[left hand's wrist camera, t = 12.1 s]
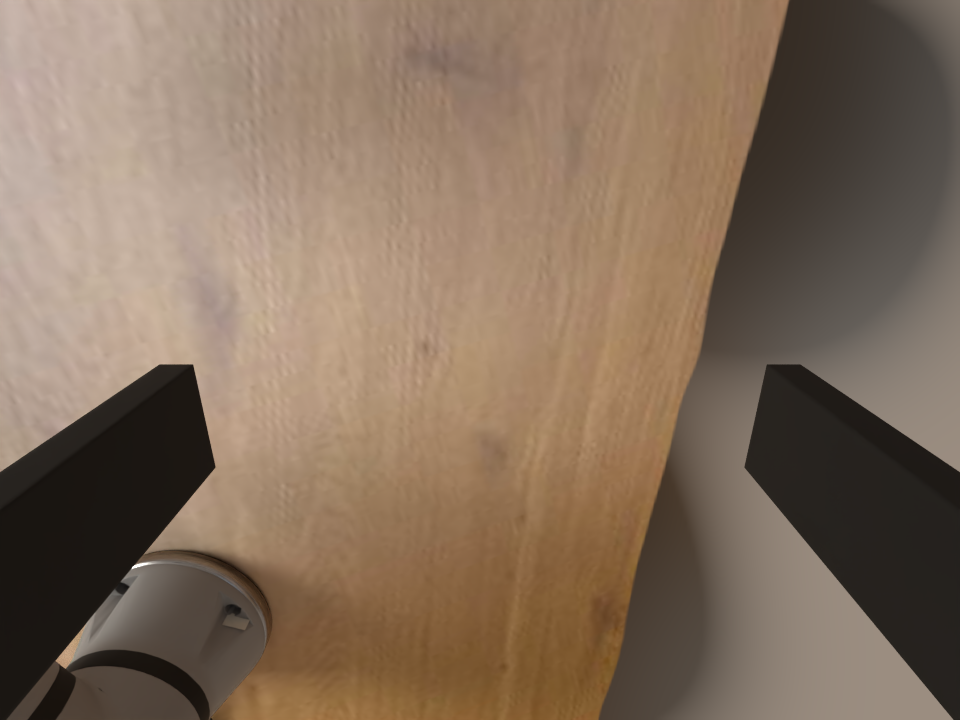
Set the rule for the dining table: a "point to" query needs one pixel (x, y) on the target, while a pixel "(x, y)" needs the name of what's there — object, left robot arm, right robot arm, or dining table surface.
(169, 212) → the dining table surface
